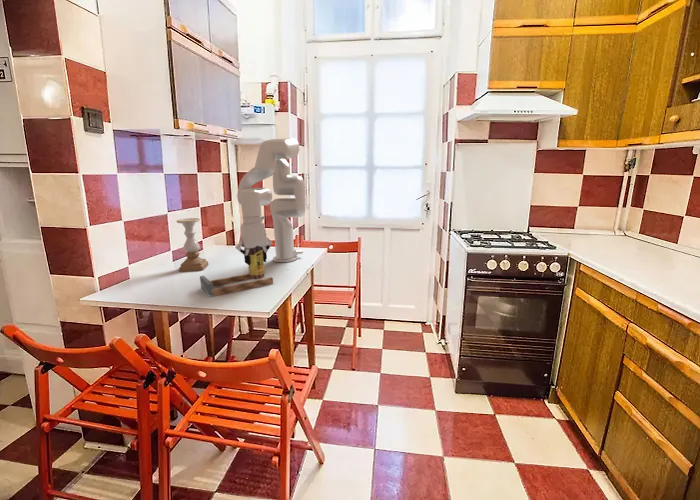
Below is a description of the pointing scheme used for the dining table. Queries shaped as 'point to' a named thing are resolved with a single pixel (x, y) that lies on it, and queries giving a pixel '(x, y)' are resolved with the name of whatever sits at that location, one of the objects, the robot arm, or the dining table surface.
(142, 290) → the dining table surface
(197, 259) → the candle holder
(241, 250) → the robot arm
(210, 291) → the wooden u-shaped frame
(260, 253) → the sauce bottle
